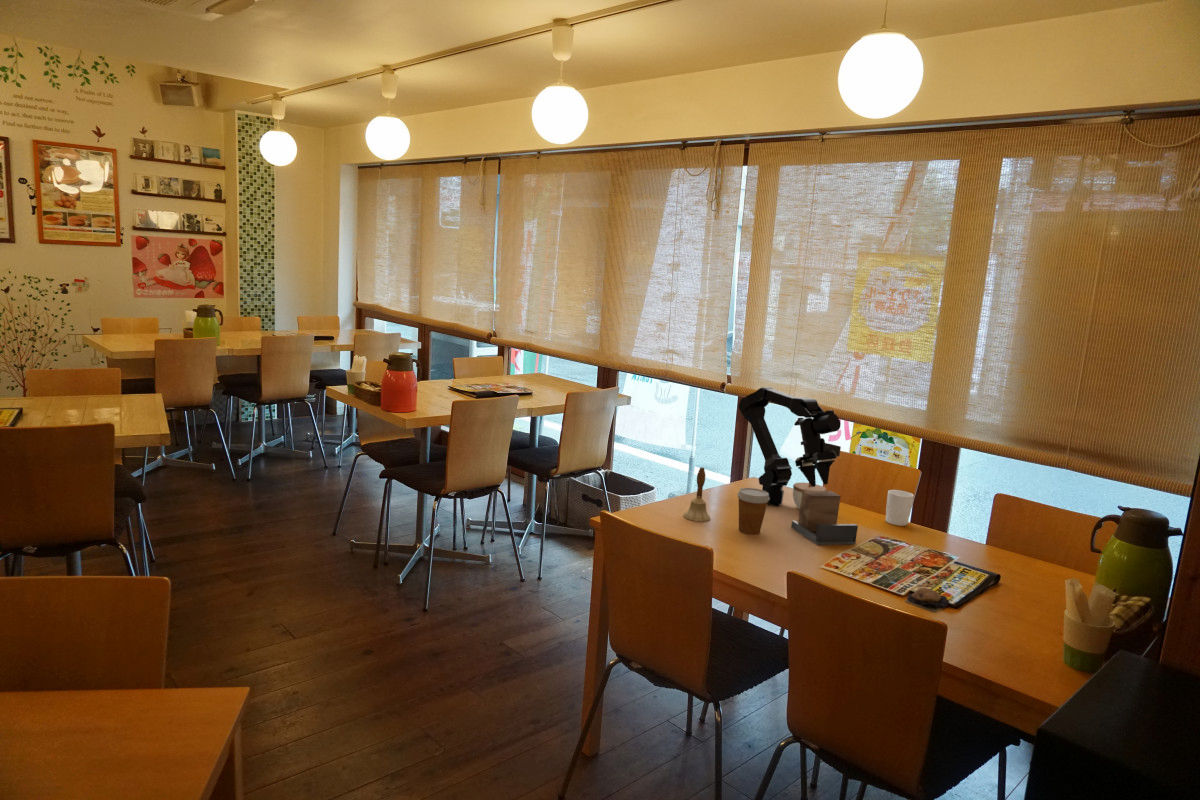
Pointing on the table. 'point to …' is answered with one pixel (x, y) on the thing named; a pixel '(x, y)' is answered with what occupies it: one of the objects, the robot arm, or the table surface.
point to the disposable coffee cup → (752, 509)
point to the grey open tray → (829, 533)
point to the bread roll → (927, 600)
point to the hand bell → (698, 502)
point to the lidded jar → (803, 487)
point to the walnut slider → (818, 508)
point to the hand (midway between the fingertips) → (819, 485)
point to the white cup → (898, 507)
